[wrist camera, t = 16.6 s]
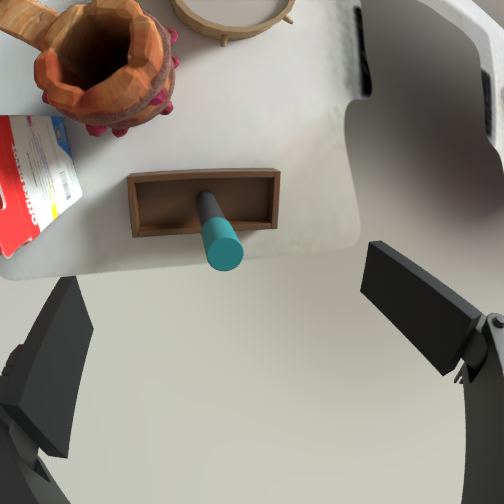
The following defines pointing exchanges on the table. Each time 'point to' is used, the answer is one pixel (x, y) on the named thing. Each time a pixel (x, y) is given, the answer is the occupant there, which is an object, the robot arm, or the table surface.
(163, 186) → the pen tray
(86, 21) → the mug
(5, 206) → the ink box
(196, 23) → the alarm clock
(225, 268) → the marker
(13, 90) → the table surface
